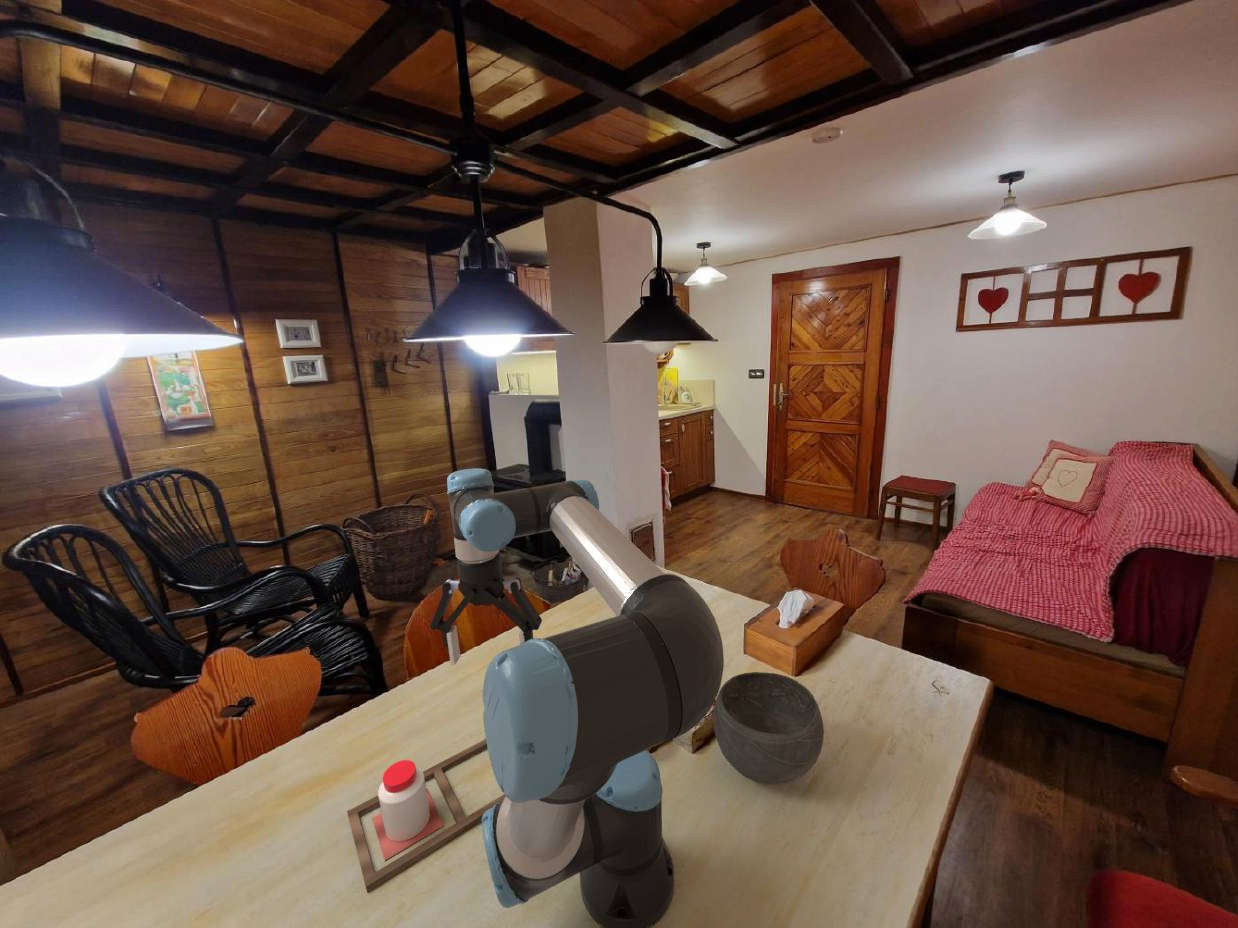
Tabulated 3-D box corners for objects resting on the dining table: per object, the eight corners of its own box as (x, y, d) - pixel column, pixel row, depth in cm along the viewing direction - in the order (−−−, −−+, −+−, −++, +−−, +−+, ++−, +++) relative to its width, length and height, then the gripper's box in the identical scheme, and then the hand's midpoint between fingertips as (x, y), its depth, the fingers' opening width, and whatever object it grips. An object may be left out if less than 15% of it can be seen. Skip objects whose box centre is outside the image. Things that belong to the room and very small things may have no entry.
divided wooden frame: (544, 781, 98) (544, 776, 98) (367, 892, 79) (365, 886, 79) (508, 731, 112) (507, 727, 111) (348, 816, 93) (347, 811, 92)
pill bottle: (414, 845, 86) (405, 794, 84) (375, 837, 88) (365, 787, 85) (438, 805, 94) (430, 757, 91) (402, 799, 95) (394, 752, 93)
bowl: (826, 744, 105) (830, 682, 101) (812, 829, 87) (817, 758, 83) (729, 713, 115) (730, 656, 111) (699, 783, 97) (699, 718, 93)
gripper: (551, 546, 90) (560, 649, 95) (421, 548, 92) (435, 648, 97) (542, 563, 83) (551, 674, 87) (400, 564, 85) (417, 673, 90)
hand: (490, 661), depth 92 cm, fingers open, 13 cm apart
